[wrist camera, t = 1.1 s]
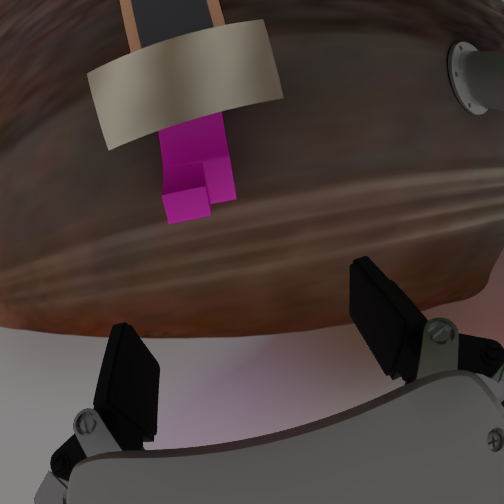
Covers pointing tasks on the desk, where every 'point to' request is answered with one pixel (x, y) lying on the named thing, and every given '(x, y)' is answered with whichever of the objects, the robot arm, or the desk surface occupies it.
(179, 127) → the toy block
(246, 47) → the tunnel
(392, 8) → the desk surface
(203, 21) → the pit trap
